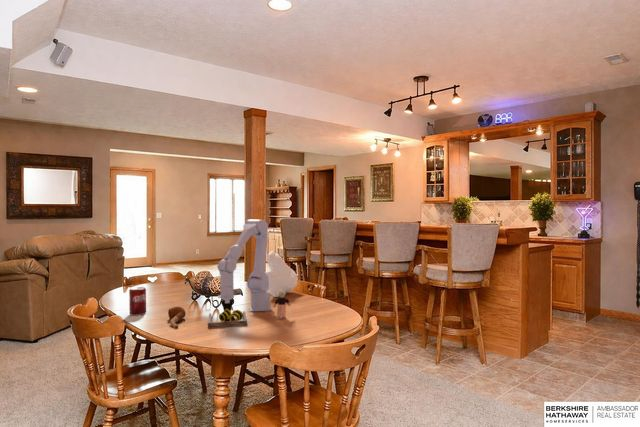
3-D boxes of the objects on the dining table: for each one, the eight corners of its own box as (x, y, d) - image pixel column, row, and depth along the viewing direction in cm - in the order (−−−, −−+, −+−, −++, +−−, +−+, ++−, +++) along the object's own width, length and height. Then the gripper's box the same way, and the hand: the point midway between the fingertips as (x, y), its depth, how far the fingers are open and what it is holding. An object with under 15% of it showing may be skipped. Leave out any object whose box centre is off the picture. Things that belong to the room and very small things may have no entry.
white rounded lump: (283, 277, 260) (262, 248, 248) (304, 275, 251) (283, 244, 240) (266, 309, 241) (243, 279, 230) (288, 307, 233) (265, 275, 222)
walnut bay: (245, 315, 194) (245, 311, 194) (247, 325, 178) (247, 320, 178) (209, 318, 190) (209, 313, 190) (207, 327, 174) (207, 323, 174)
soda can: (149, 312, 201) (149, 287, 201) (137, 316, 194) (137, 290, 194) (138, 311, 204) (138, 286, 204) (126, 314, 197) (125, 289, 197)
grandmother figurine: (275, 320, 186) (275, 291, 186) (272, 318, 189) (272, 290, 189) (291, 318, 189) (291, 289, 189) (288, 316, 193) (288, 288, 193)
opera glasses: (218, 323, 185) (217, 312, 184) (225, 317, 189) (224, 307, 188) (237, 325, 181) (235, 314, 180) (244, 320, 185) (242, 309, 184)
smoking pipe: (184, 317, 193) (184, 304, 193) (189, 327, 176) (189, 313, 176) (168, 319, 190) (168, 306, 190) (171, 329, 173) (171, 315, 173)
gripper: (218, 283, 196) (218, 312, 196) (217, 289, 182) (218, 320, 182) (233, 282, 198) (233, 311, 198) (234, 288, 184) (234, 319, 184)
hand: (227, 315), depth 190 cm, fingers closed
